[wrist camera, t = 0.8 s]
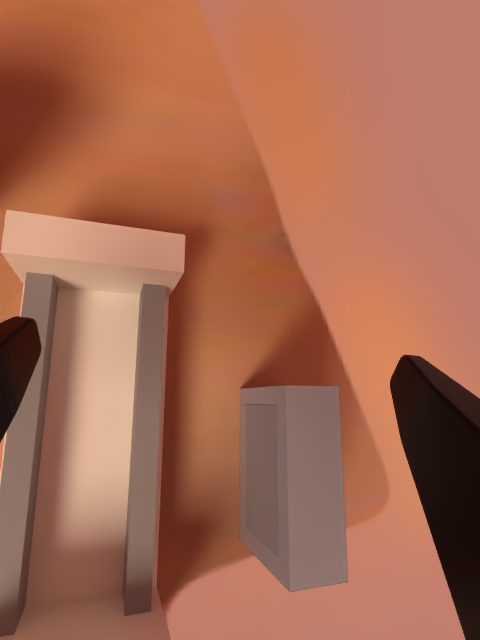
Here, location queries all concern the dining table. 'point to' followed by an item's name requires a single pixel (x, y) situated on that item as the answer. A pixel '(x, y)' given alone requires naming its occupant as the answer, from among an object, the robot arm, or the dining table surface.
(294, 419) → the grey rectangular block
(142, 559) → the track
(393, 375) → the robot arm
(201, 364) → the dining table surface
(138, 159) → the dining table surface
